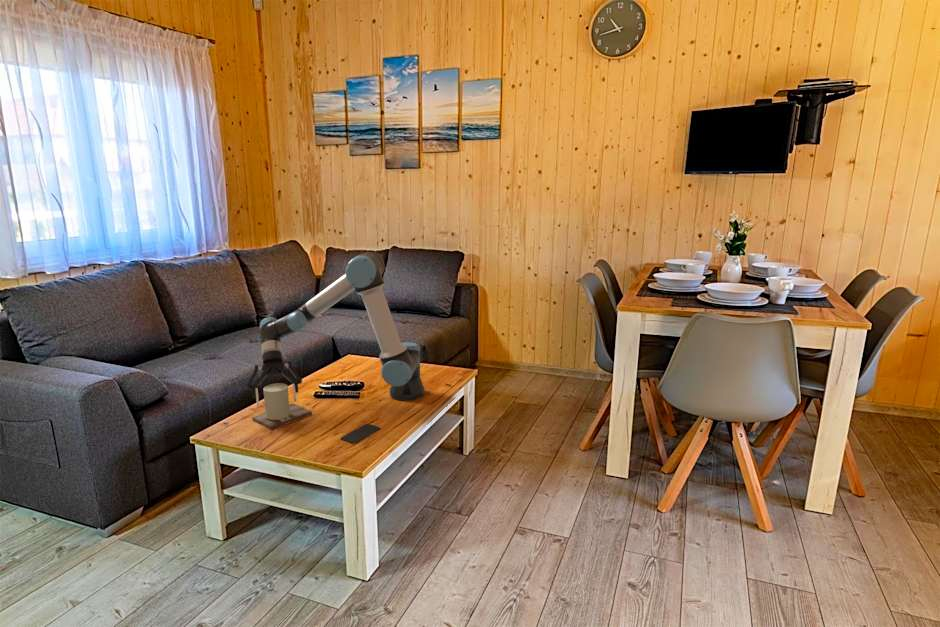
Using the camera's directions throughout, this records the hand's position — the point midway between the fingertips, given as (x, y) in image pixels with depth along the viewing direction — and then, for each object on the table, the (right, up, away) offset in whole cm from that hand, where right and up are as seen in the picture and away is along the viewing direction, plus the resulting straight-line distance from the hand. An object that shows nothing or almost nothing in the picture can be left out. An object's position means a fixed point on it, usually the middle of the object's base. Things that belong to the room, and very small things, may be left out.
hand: (276, 402), depth 213 cm
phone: (+34, -11, -8) cm, 36 cm away
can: (-1, -6, +4) cm, 7 cm away
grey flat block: (0, -7, +5) cm, 9 cm away
